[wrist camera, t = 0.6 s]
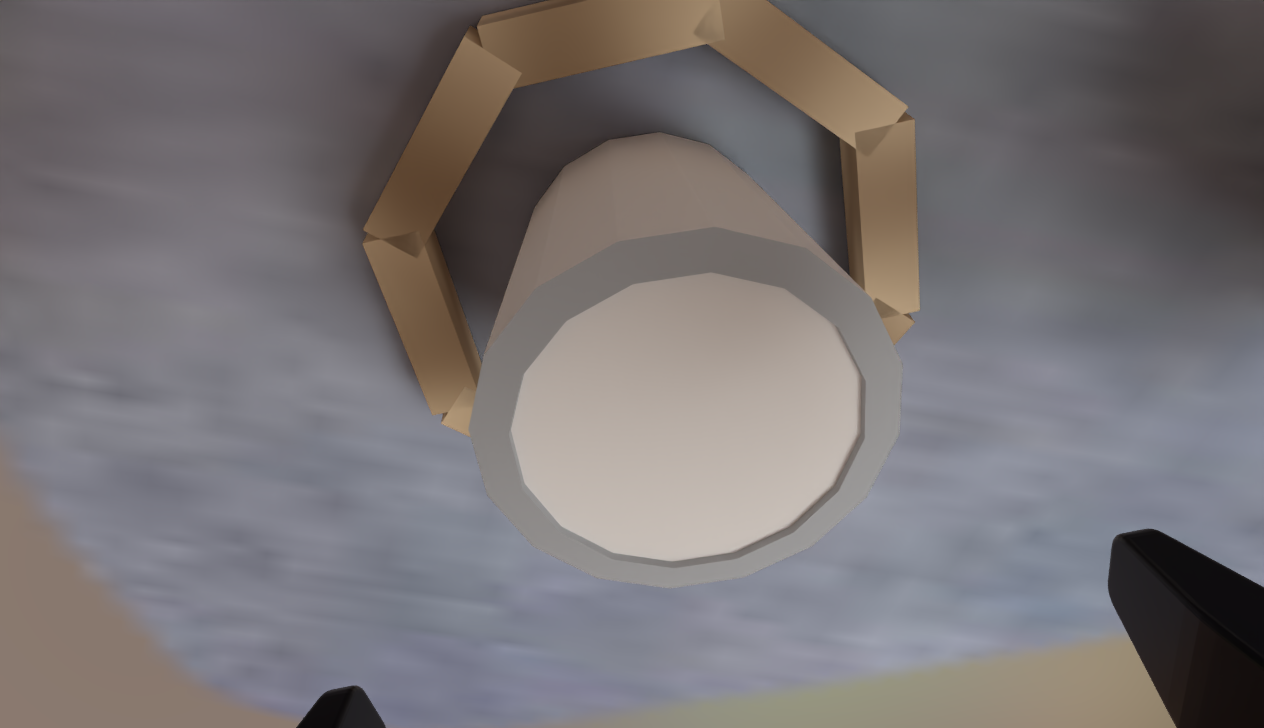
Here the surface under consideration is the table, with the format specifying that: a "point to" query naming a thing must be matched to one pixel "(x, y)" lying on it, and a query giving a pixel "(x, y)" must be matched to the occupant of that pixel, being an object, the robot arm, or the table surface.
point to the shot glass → (679, 373)
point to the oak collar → (601, 37)
